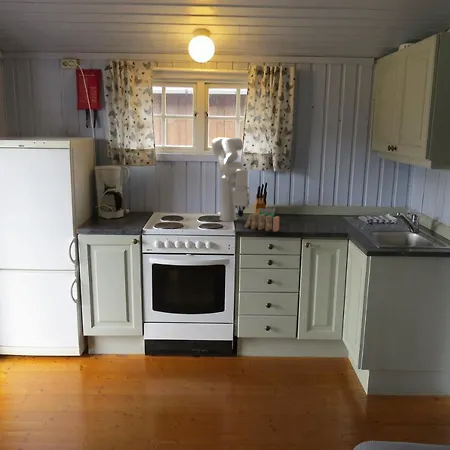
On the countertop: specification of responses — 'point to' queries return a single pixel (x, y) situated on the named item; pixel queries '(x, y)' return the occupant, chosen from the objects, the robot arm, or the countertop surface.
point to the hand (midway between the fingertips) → (240, 216)
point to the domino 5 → (276, 223)
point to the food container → (267, 212)
